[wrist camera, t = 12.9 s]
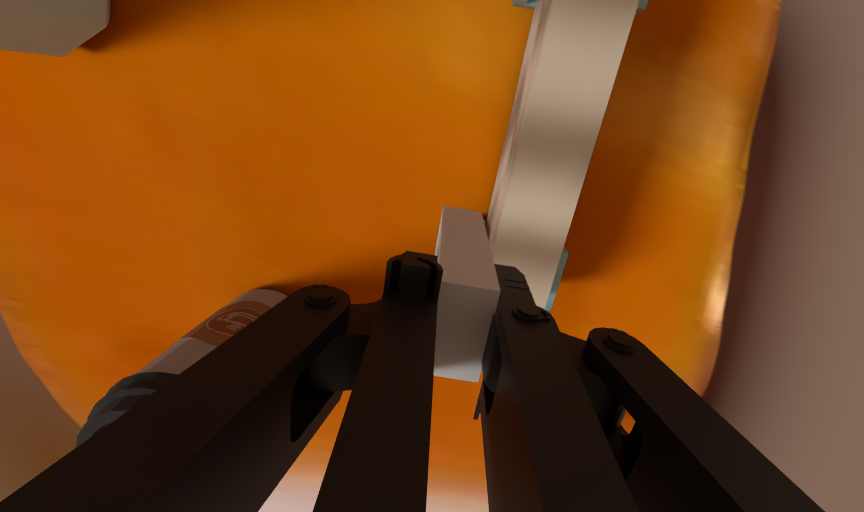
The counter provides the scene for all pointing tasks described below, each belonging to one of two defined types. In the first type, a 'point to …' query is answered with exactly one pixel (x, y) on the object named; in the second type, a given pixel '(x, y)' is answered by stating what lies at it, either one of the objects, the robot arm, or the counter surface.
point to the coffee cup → (179, 358)
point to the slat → (554, 132)
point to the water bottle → (50, 24)
